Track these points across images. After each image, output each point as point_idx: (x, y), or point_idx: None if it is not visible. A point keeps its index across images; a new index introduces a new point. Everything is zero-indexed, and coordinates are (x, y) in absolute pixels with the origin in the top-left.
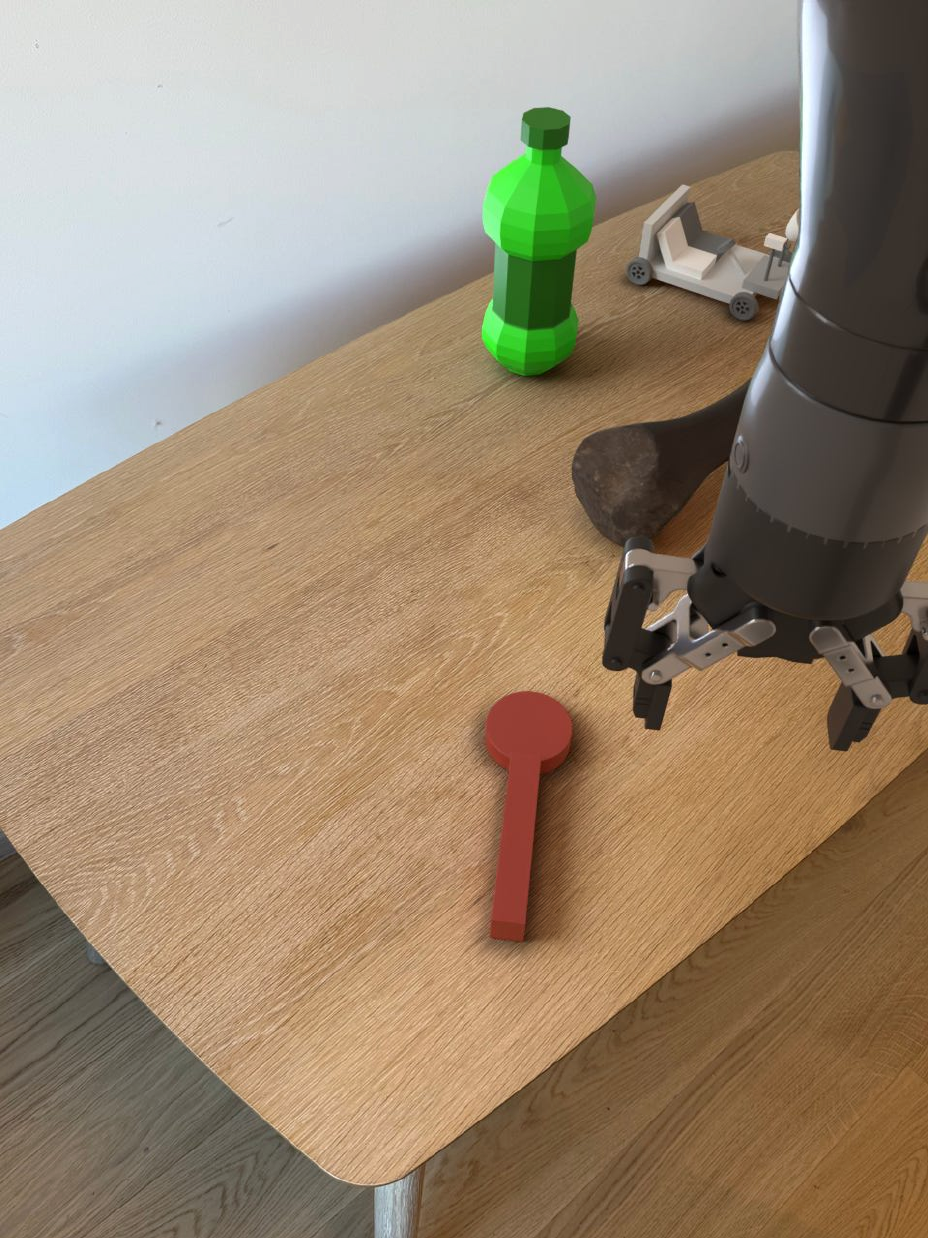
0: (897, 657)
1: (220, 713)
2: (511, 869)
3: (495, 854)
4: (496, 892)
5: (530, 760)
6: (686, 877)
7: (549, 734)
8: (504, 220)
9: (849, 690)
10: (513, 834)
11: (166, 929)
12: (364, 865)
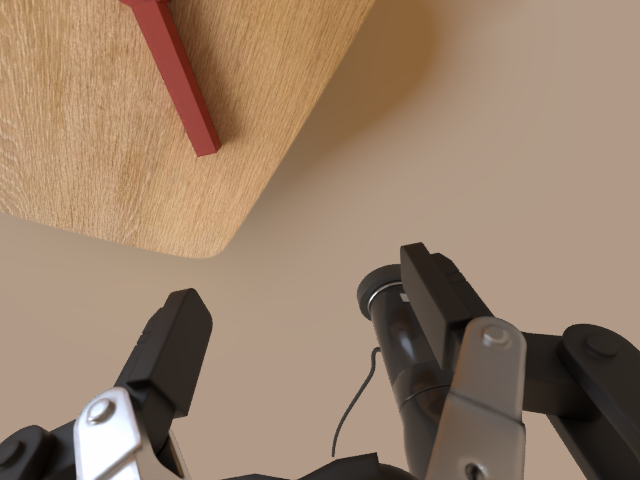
0: (553, 384)
1: None
2: (190, 119)
3: None
4: (190, 138)
5: (150, 10)
6: (298, 64)
7: None
8: None
9: (440, 341)
10: (177, 91)
11: (48, 203)
12: (109, 131)
